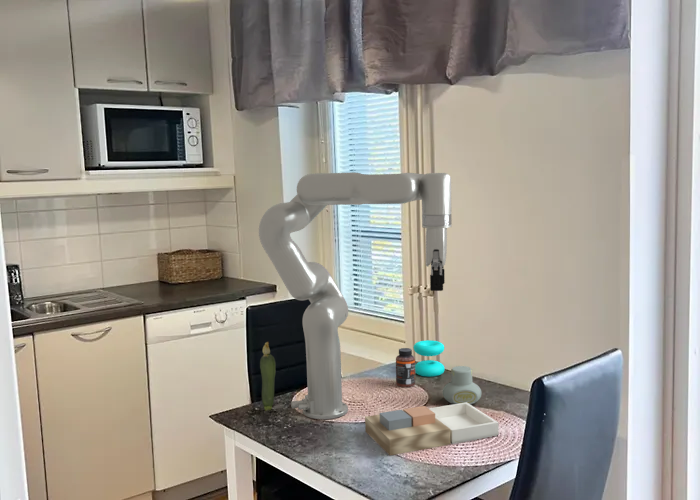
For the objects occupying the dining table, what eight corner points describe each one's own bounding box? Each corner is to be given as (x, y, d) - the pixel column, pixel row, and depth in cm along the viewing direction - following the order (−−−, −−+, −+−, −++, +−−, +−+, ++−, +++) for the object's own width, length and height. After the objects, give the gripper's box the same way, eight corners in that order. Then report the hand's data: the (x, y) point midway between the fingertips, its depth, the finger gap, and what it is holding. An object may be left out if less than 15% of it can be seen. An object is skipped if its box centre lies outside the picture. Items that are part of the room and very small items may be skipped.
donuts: (450, 344, 223) (422, 348, 219) (450, 374, 224) (423, 379, 220) (434, 337, 232) (407, 341, 228) (434, 366, 233) (408, 371, 229)
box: (452, 444, 169) (452, 430, 169) (423, 422, 184) (423, 409, 184) (498, 435, 174) (498, 422, 173) (466, 414, 189) (466, 402, 188)
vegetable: (262, 407, 199) (259, 339, 196) (277, 406, 199) (274, 338, 197) (261, 413, 194) (258, 343, 192) (277, 412, 195) (274, 342, 192)
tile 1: (389, 430, 169) (388, 421, 168) (379, 422, 174) (379, 412, 174) (411, 426, 171) (411, 417, 170) (401, 418, 176) (401, 409, 176)
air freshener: (477, 397, 202) (477, 363, 201) (484, 407, 194) (484, 372, 193) (440, 398, 202) (440, 365, 201) (445, 408, 194) (444, 373, 193)
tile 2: (413, 426, 171) (413, 417, 171) (403, 418, 176) (403, 409, 176) (435, 422, 173) (435, 413, 173) (424, 414, 178) (424, 405, 178)
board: (389, 455, 164) (389, 439, 163) (365, 431, 179) (365, 416, 178) (450, 444, 169) (450, 428, 169) (421, 422, 184) (421, 407, 184)
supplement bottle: (414, 388, 212) (413, 352, 210) (394, 387, 213) (394, 351, 211) (416, 382, 217) (415, 347, 216) (397, 381, 219) (396, 346, 217)
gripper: (424, 218, 187) (425, 281, 189) (419, 224, 170) (420, 293, 172) (452, 218, 186) (453, 281, 188) (450, 224, 169) (451, 293, 171)
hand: (437, 287), depth 180 cm, fingers open, 9 cm apart
